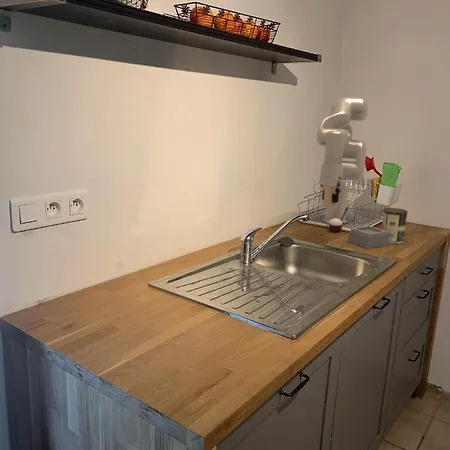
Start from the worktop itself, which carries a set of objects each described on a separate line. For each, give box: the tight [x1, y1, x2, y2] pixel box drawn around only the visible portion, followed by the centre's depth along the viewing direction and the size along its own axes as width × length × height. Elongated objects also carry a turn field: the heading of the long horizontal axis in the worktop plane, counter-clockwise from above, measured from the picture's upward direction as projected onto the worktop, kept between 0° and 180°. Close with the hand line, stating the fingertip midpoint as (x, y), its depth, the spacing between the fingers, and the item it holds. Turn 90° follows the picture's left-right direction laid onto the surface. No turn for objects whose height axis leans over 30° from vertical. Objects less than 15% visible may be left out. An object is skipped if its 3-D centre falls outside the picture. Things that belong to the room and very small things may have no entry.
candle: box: [323, 186, 337, 207], centre depth 217 cm, size 6×6×10 cm
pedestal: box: [347, 225, 389, 249], centre depth 219 cm, size 12×12×6 cm
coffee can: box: [381, 207, 409, 244], centre depth 224 cm, size 10×10×14 cm
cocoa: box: [325, 206, 349, 233], centre depth 237 cm, size 10×6×12 cm, turn 61°
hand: (330, 200), depth 218 cm, fingers closed on candle, 5 cm apart
